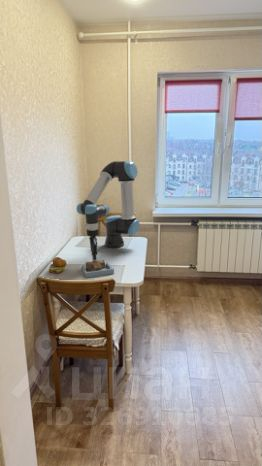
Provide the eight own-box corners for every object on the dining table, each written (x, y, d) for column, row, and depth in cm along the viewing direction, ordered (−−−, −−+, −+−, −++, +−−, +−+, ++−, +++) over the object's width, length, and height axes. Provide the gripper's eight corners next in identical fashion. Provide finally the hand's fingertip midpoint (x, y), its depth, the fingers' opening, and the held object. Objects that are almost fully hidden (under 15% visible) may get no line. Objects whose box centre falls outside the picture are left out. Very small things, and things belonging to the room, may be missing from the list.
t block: (103, 265, 213) (103, 259, 211) (108, 272, 202) (108, 266, 201) (85, 268, 209) (85, 262, 208) (89, 275, 198) (89, 269, 197)
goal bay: (108, 264, 213) (107, 260, 213) (114, 273, 200) (113, 268, 199) (81, 268, 208) (81, 264, 207) (86, 277, 194) (86, 273, 194)
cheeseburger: (49, 268, 210) (51, 254, 208) (65, 271, 212) (68, 257, 209) (46, 274, 200) (49, 259, 198) (64, 277, 202) (66, 262, 200)
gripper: (84, 227, 210) (87, 261, 216) (88, 232, 198) (91, 268, 204) (96, 225, 212) (98, 259, 218) (100, 230, 200) (102, 266, 207)
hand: (94, 263), depth 211 cm, fingers closed
